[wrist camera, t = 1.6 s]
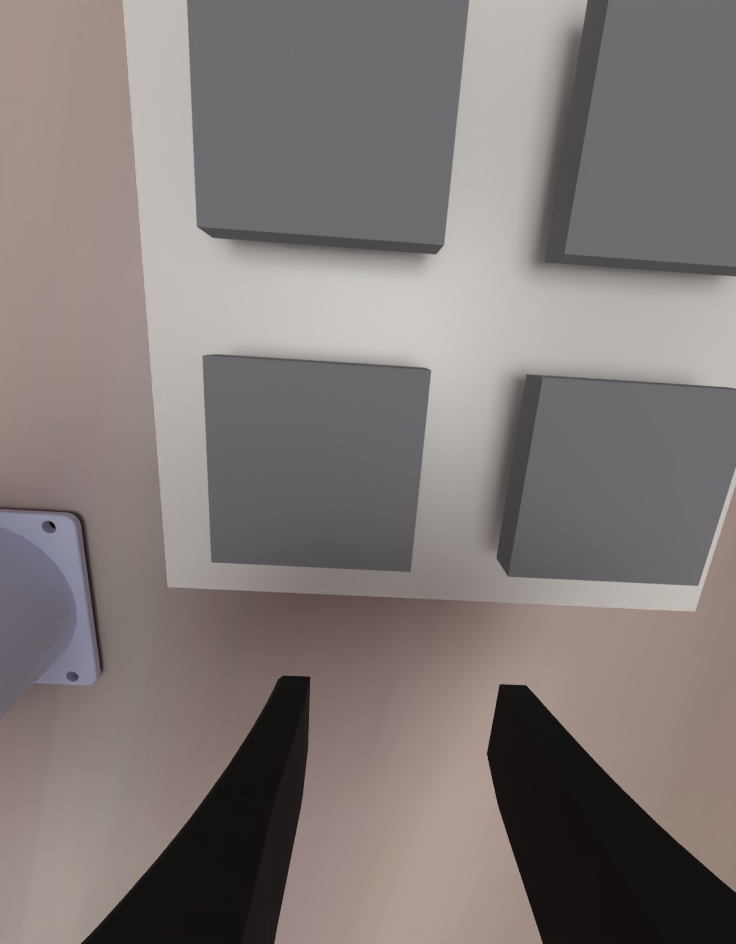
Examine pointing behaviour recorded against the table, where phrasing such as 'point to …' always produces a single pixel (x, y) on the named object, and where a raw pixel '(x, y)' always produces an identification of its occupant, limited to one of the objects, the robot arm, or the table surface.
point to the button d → (651, 140)
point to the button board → (412, 313)
